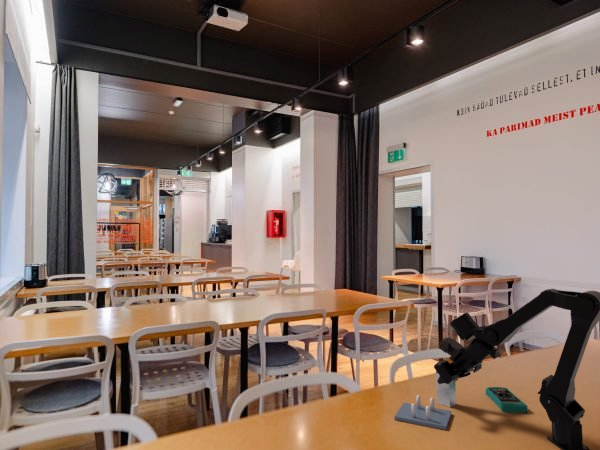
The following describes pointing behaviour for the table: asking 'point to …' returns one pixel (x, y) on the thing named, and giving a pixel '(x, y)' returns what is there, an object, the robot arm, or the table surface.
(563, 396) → the robot arm
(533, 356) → the table surface
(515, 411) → the digital multimeter
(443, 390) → the plate
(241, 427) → the table surface
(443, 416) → the grey pegged base
